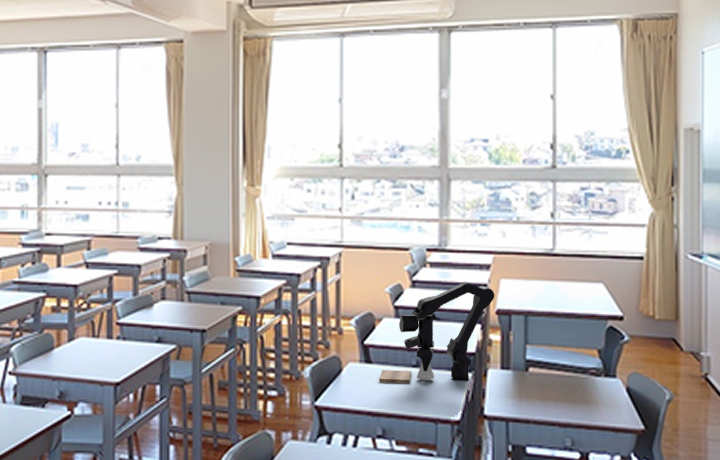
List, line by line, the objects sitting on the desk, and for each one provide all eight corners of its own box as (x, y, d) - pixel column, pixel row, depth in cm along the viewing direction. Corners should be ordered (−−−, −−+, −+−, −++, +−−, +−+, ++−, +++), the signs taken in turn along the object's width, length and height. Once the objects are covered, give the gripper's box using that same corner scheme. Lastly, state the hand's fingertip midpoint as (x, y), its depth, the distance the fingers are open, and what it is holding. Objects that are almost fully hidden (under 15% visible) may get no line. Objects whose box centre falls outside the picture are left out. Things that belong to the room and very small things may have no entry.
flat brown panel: (411, 375, 268) (411, 371, 268) (409, 384, 256) (409, 379, 256) (382, 374, 270) (382, 370, 270) (379, 383, 258) (379, 378, 258)
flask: (413, 379, 259) (413, 354, 258) (420, 374, 265) (420, 350, 264) (430, 381, 255) (430, 356, 255) (437, 376, 262) (437, 352, 261)
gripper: (407, 325, 269) (406, 362, 270) (403, 335, 251) (403, 375, 252) (434, 326, 268) (433, 363, 269) (432, 336, 249) (432, 376, 250)
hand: (425, 369), depth 260 cm, fingers closed on flask, 5 cm apart
